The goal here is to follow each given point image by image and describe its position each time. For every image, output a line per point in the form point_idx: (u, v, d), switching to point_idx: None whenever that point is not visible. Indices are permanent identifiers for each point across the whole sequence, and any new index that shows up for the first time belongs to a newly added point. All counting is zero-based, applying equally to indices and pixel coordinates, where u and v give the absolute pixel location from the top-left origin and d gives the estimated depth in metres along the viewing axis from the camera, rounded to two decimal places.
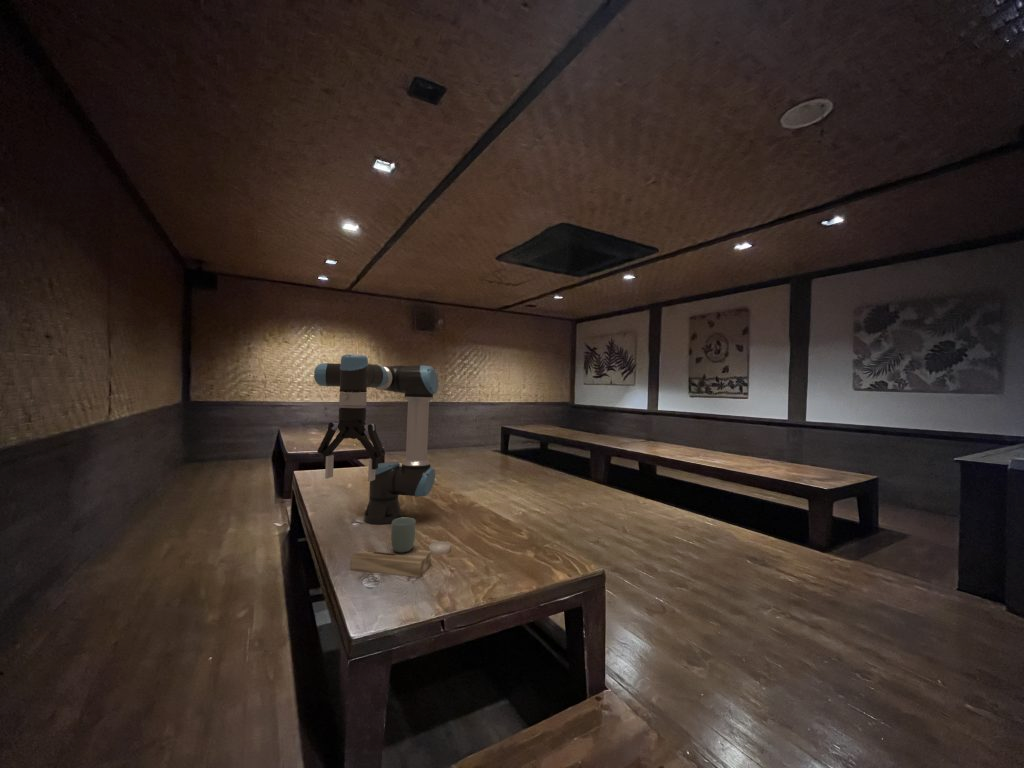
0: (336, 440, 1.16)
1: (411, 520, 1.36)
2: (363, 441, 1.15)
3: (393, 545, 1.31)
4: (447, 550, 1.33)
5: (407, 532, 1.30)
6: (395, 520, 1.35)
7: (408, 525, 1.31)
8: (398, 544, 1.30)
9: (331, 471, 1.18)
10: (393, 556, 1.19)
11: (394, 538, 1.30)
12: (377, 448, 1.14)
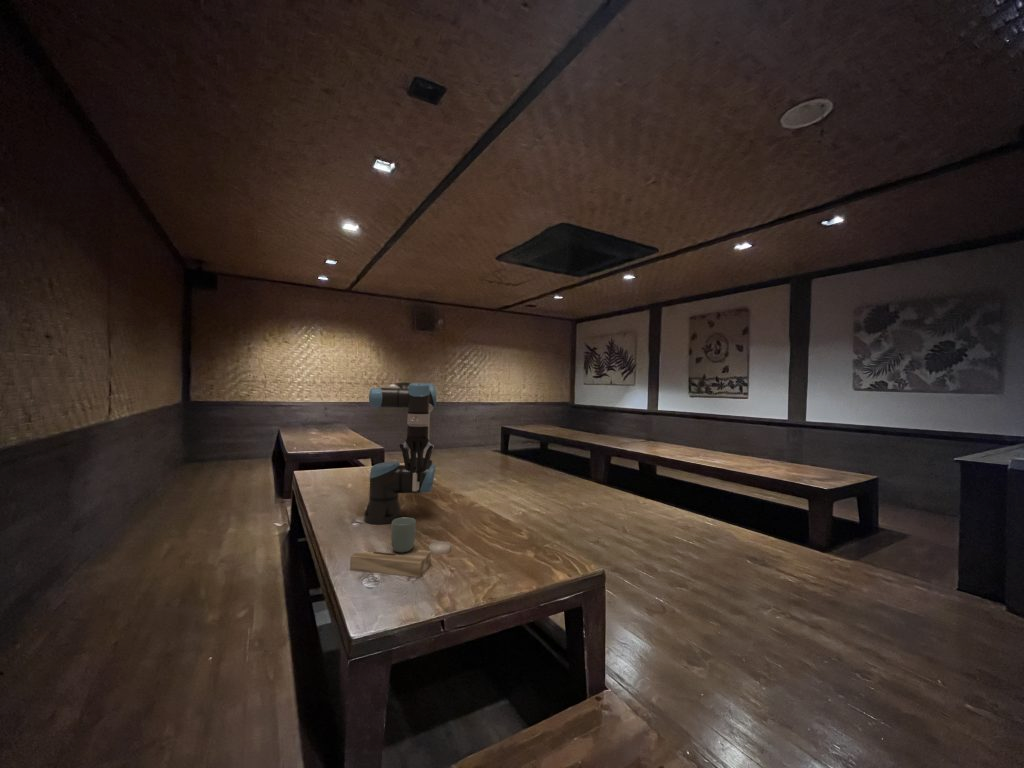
0: (412, 455, 1.43)
1: (411, 520, 1.36)
2: (419, 456, 1.42)
3: (393, 545, 1.31)
4: (447, 550, 1.33)
5: (407, 532, 1.30)
6: (395, 520, 1.35)
7: (408, 525, 1.31)
8: (398, 544, 1.30)
9: None
10: (393, 556, 1.19)
11: (394, 538, 1.30)
12: (425, 465, 1.42)
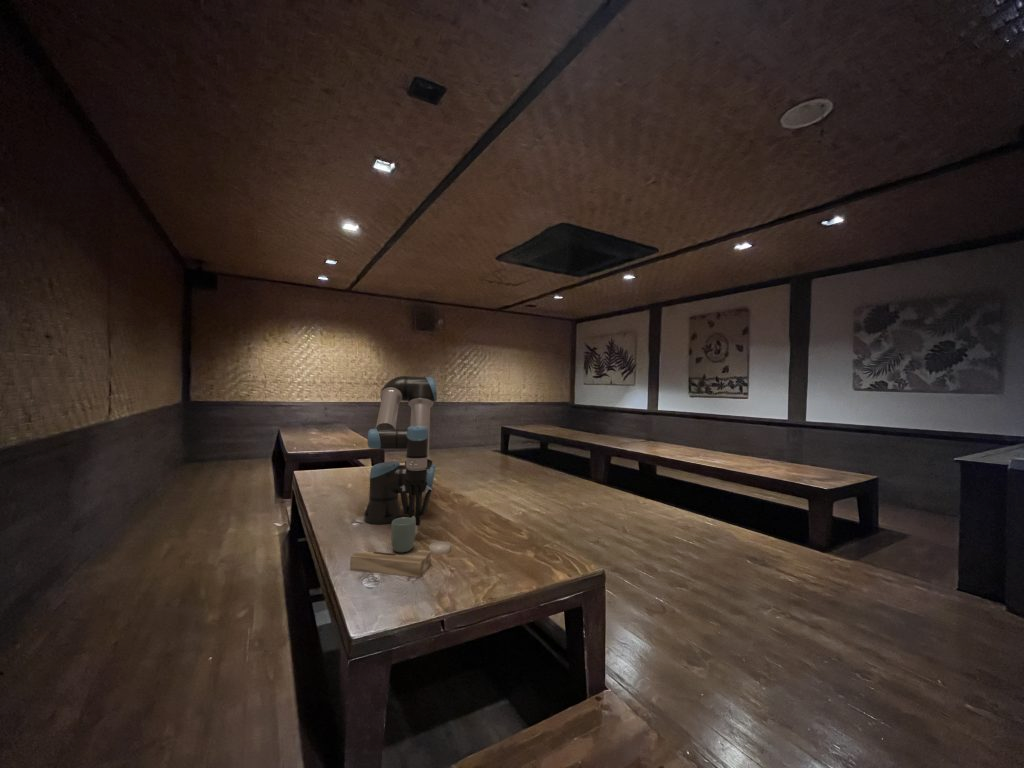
0: (411, 499, 1.42)
1: (411, 520, 1.36)
2: (418, 500, 1.42)
3: (393, 545, 1.31)
4: (447, 550, 1.33)
5: (407, 532, 1.30)
6: (395, 520, 1.35)
7: (408, 525, 1.31)
8: (398, 544, 1.30)
9: (415, 529, 1.44)
10: (393, 556, 1.19)
11: (394, 538, 1.30)
12: (423, 509, 1.41)
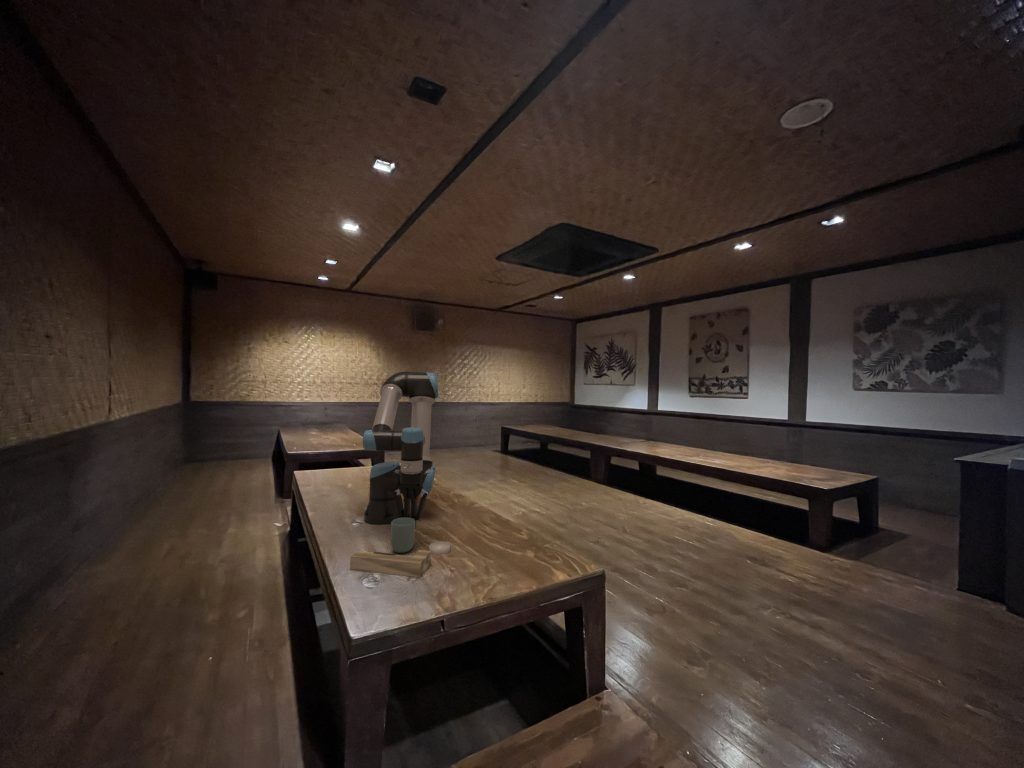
0: (406, 503, 1.38)
1: (411, 520, 1.36)
2: (413, 504, 1.37)
3: (392, 545, 1.31)
4: (447, 550, 1.33)
5: (407, 532, 1.30)
6: (395, 520, 1.35)
7: (407, 525, 1.30)
8: (397, 545, 1.30)
9: None
10: (393, 556, 1.19)
11: (393, 539, 1.30)
12: (419, 513, 1.37)
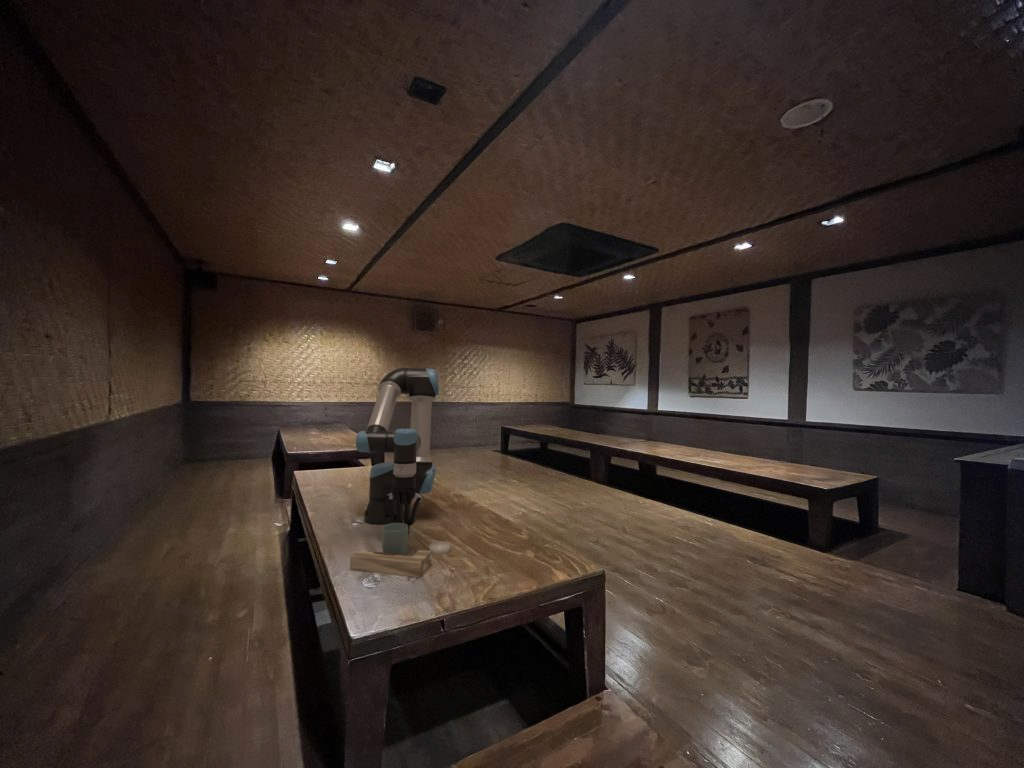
0: (399, 508, 1.32)
1: (404, 526, 1.30)
2: (406, 509, 1.32)
3: (384, 552, 1.25)
4: (447, 550, 1.33)
5: (398, 538, 1.24)
6: (387, 526, 1.29)
7: (399, 531, 1.24)
8: (389, 552, 1.24)
9: None
10: (393, 556, 1.19)
11: (385, 545, 1.24)
12: (412, 518, 1.31)
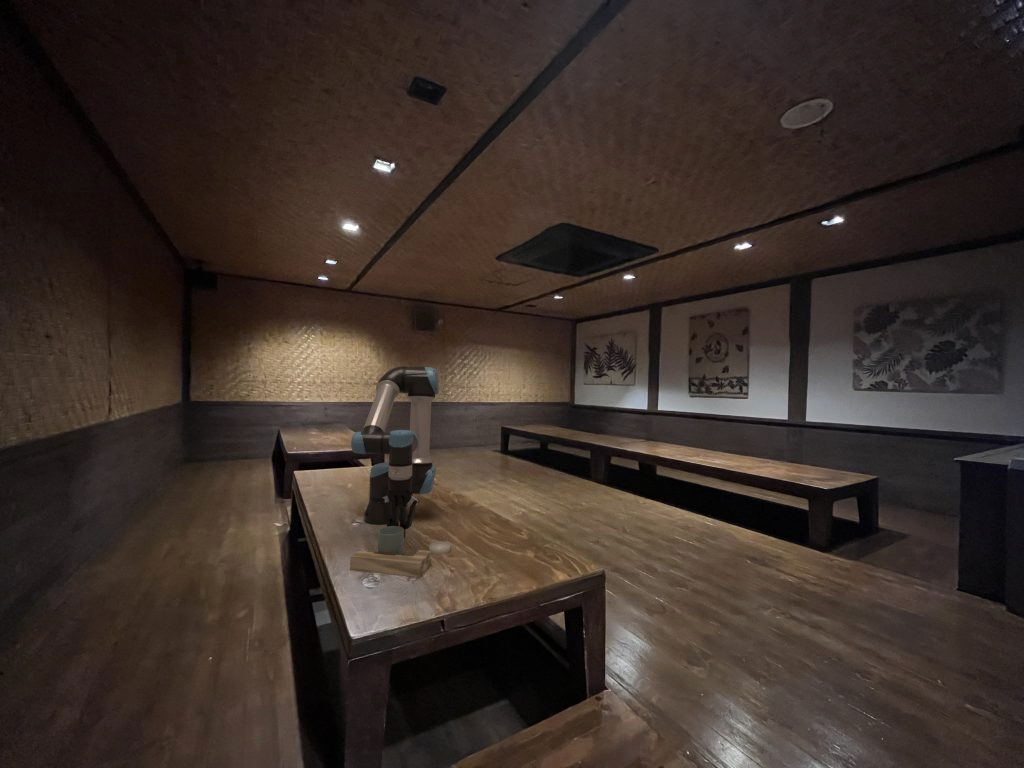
0: (394, 511, 1.29)
1: (399, 529, 1.27)
2: (402, 512, 1.28)
3: None
4: (447, 550, 1.33)
5: (394, 542, 1.21)
6: (382, 529, 1.26)
7: (395, 535, 1.21)
8: None
9: None
10: (393, 556, 1.19)
11: (380, 549, 1.21)
12: (408, 522, 1.28)
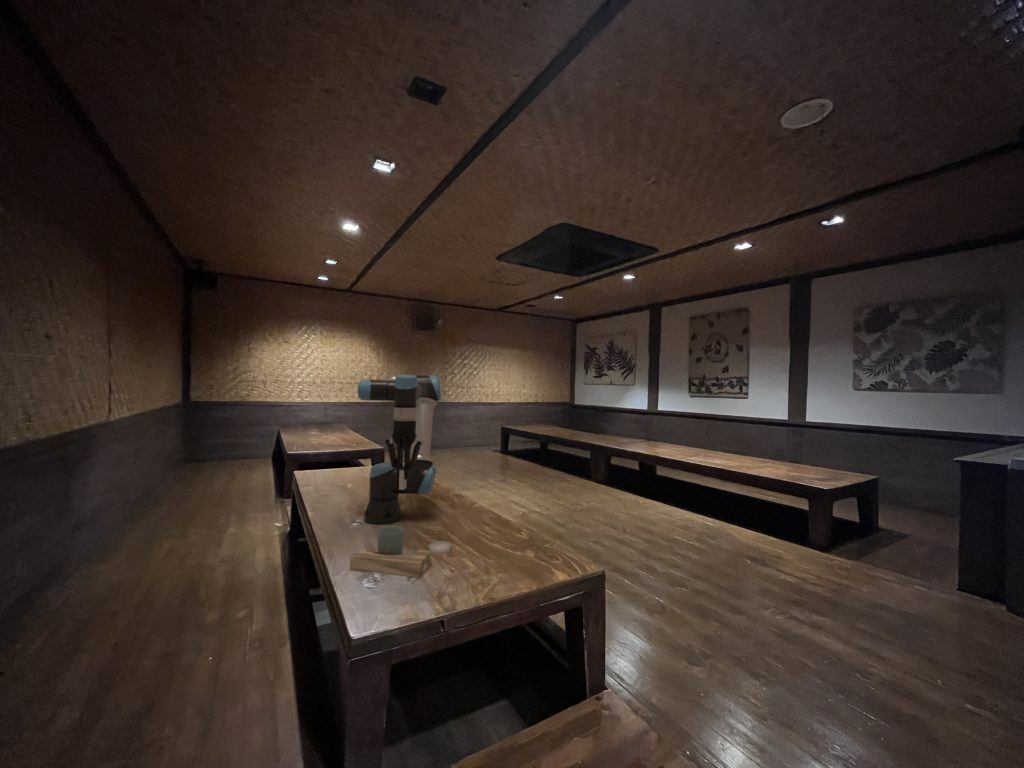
0: (399, 452, 1.34)
1: (400, 529, 1.27)
2: (406, 453, 1.34)
3: None
4: (447, 550, 1.33)
5: (394, 542, 1.21)
6: (382, 529, 1.26)
7: (395, 535, 1.21)
8: None
9: None
10: (393, 556, 1.19)
11: (380, 549, 1.21)
12: (412, 462, 1.33)
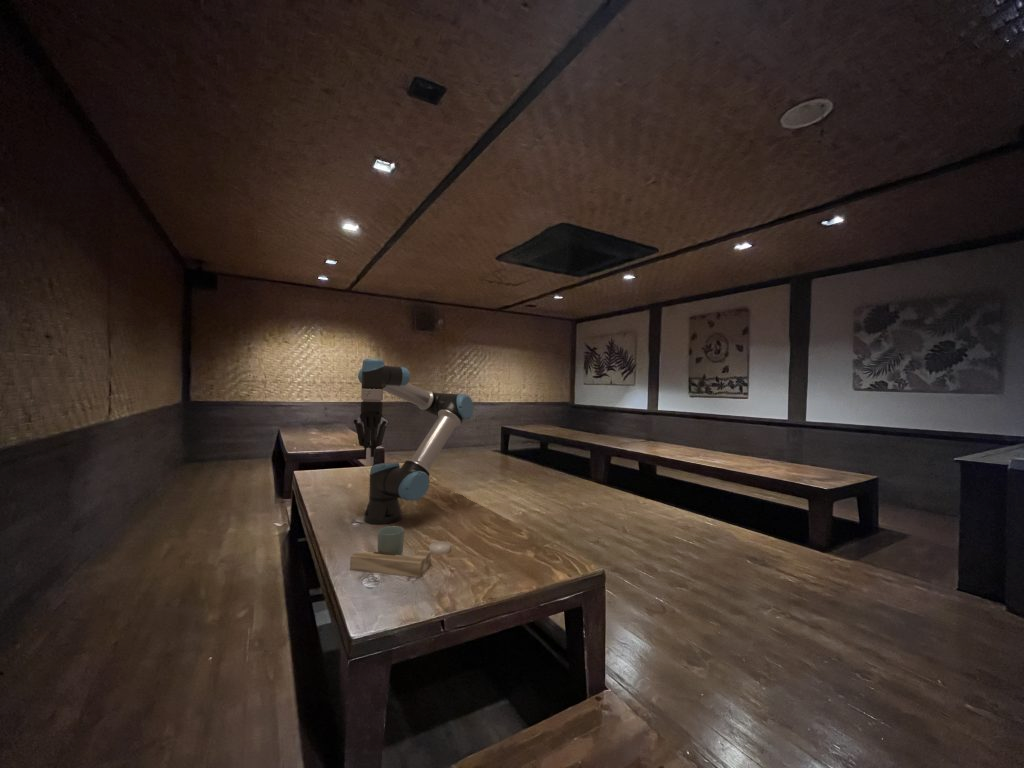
0: (366, 431, 1.43)
1: (400, 529, 1.27)
2: (373, 431, 1.43)
3: None
4: (447, 550, 1.33)
5: (394, 542, 1.21)
6: (382, 529, 1.26)
7: (395, 535, 1.21)
8: None
9: None
10: (393, 556, 1.19)
11: (380, 549, 1.21)
12: (378, 440, 1.42)
